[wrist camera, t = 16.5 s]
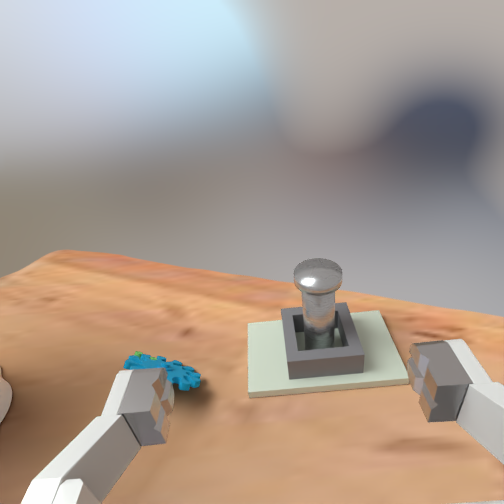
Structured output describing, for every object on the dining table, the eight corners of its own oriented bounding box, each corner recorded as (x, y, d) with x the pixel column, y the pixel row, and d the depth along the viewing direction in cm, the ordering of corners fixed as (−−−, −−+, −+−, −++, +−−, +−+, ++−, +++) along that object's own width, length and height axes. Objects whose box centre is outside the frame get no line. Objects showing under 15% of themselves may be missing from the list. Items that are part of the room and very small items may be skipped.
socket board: (249, 398, 44) (244, 374, 42) (248, 328, 54) (244, 306, 52) (408, 384, 43) (413, 359, 41) (378, 316, 53) (380, 292, 51)
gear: (218, 378, 45) (155, 379, 38) (204, 423, 45) (138, 433, 37) (169, 349, 53) (109, 345, 45) (157, 387, 52) (94, 390, 45)
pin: (302, 366, 46) (296, 290, 39) (297, 334, 51) (291, 261, 43) (344, 362, 46) (347, 284, 38) (335, 330, 50) (336, 256, 43)
